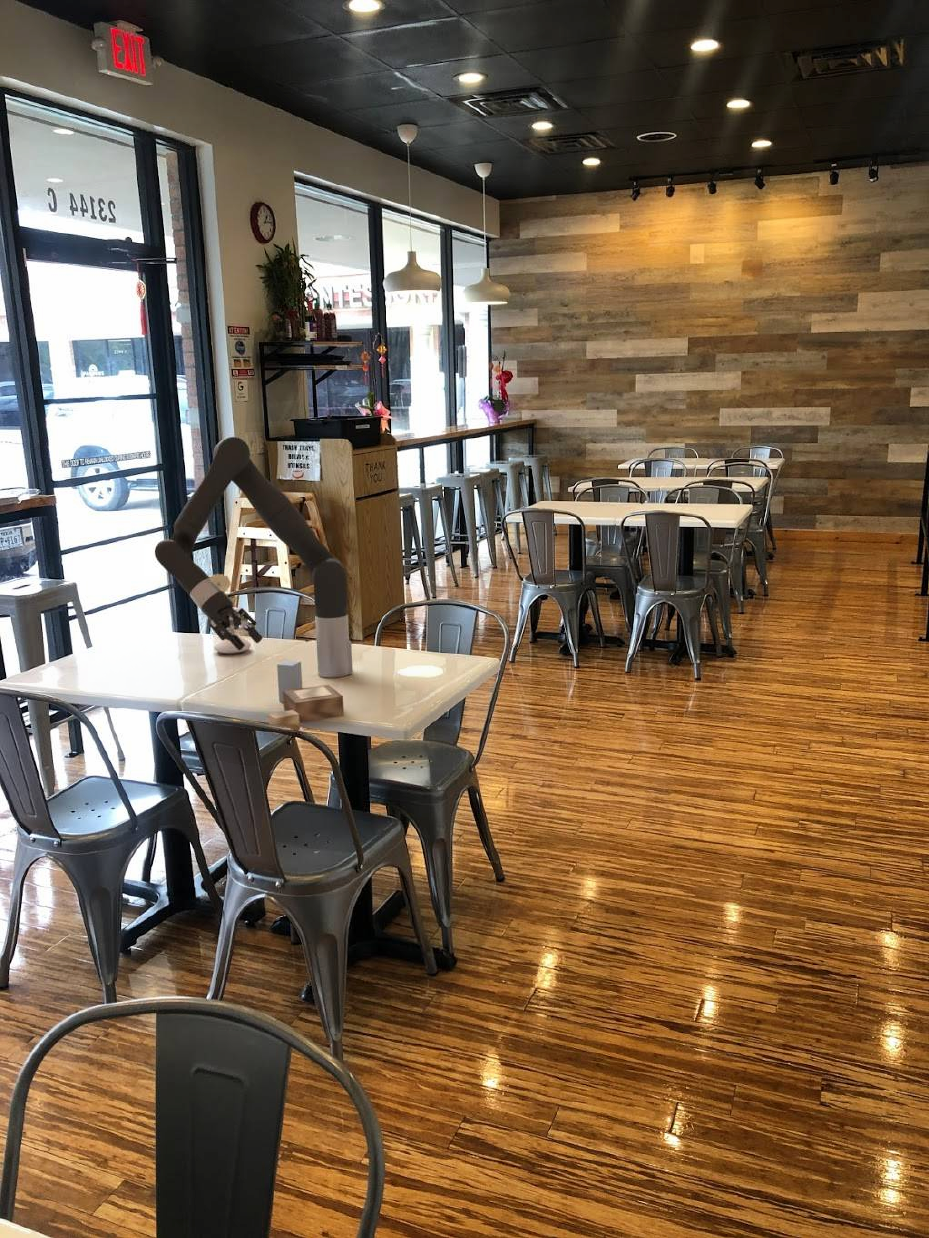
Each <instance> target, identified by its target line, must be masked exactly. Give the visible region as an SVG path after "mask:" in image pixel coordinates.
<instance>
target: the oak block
mask: <svg viewBox="0 0 929 1238" xmlns="http://www.w3.org/2000/svg"><path fill="white" fill-rule="evenodd" d="M268 723H269V724H273V725H279V726H283V727H287V728H291V729H293V730H294V731H298V730H300V731H301V727H300V724H301V723H300V722H299V714H298V713H297V712H295V711H293V710H289V711H285V710H284V711H280V712H273V713H268ZM273 733H274V734H275V735H278V734H280V733H275V732H273Z"/></svg>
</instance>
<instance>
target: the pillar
mask: <svg viewBox="0 0 929 1238" xmlns="http://www.w3.org/2000/svg"><path fill="white" fill-rule="evenodd" d="M276 666H277V667H276V671H277V685H278V688H277V689H278V701H280V703H281V702H282V703H284V700H283V691H286V690H293V689H300V688H303V675H302V674H303V673H302V672H303V671H302V661H299V660H297V661H296V660H284V661H282V662H280V663H279V662H278V664H277V665H276Z"/></svg>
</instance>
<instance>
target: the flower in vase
mask: <svg viewBox="0 0 929 1238" xmlns="http://www.w3.org/2000/svg"><path fill="white" fill-rule="evenodd" d="M209 578H210V579H211V580H212V581H214V582H215V583H216V584H217V585H218V586H219V587H220V588H221V590H222V591H223V592H224V593H225V592H227V591H228V590H229V588H230V586H231V584H232V583H231V580H230V578H229V577H228V575H224V574H223V573H221V574H219V573H216V574H212V575H211V576H209ZM237 599H238V596H236V597H234V598H230V600H231V601H232V602H233V604H234V603H235V602H236V601H237ZM233 609H234V610H235V611H239V608H238V607H235V606H233ZM234 632H235V635H237V636H238V637H239V638H240V639H241V641H242V642H243V643H244V644H245V646H244V647H243V648H242V650H238V649H237V648H236V647H235V646H234V645H233V644H232V643H231V642H230V641H228V640H226V639H225V640H221V639H220V638H219V640H218V641H217V642H216V643H215V644H214V646H213V649H214V651H215V652H218V653H221V654H237V653H238V654H239V653H243V652H245V651H248V650H249V649H250V648H251V647H252V645H251V642H250V641H249V640H247V639H246V638H245V637H243V636H242V635H241V634H239V633H238V632H237V629H234Z"/></svg>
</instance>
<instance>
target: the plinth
mask: <svg viewBox="0 0 929 1238" xmlns="http://www.w3.org/2000/svg"><path fill="white" fill-rule="evenodd" d="M283 700H284V702H283V710H284V711H289V710H293V711H295V712H297V713H298V714H299V723H302V722H303V723H304V722H308V721H309V722H310V721H315V720H316V721H317V720H323V719H324V720H325V719H329V718H336V717H337V718H338V717H342V716H345V714H344V713H345V712H344V695H342V694H340V693H339V691H338V690H336V689H335V688H334V687H332V686H331V685H330V684H324V685H317V686H309V687H302V688H300V689H293V690H286V691H283Z"/></svg>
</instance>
